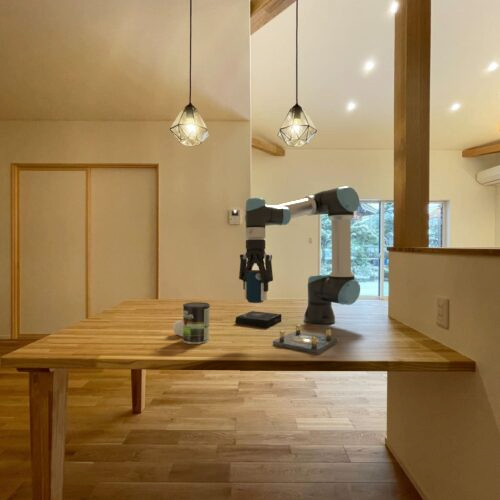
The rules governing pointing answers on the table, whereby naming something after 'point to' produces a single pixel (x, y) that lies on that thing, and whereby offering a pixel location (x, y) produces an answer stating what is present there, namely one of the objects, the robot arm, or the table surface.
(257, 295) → the soda can
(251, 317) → the portable cd player
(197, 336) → the coffee can
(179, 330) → the duck figurine
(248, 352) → the table surface
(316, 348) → the chassis plate
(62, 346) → the table surface
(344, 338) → the table surface
